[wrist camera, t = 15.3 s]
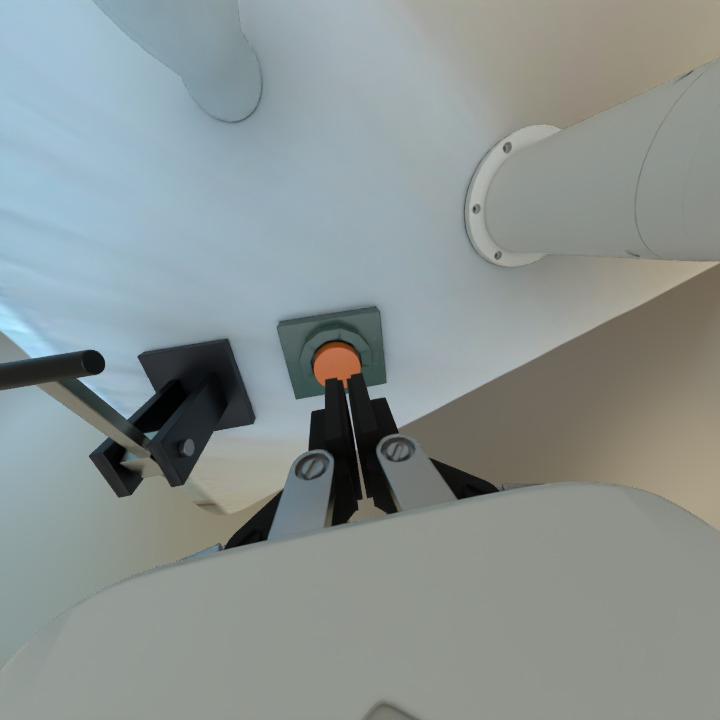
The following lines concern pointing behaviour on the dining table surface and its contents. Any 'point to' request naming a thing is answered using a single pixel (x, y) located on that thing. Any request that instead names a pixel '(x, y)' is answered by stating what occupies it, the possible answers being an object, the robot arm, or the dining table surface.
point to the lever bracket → (180, 411)
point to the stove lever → (83, 401)
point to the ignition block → (317, 331)
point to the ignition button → (336, 362)
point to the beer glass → (196, 49)
